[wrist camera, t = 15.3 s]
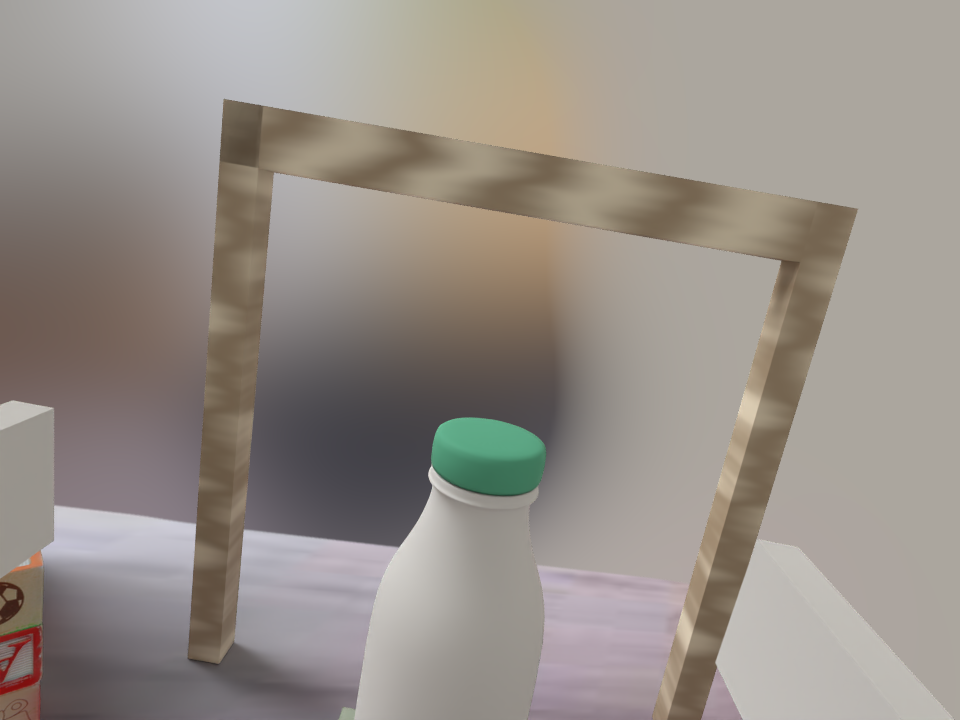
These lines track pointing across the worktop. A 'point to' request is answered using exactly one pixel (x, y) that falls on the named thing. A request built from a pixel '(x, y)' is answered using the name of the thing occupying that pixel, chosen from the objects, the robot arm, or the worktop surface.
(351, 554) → the worktop surface
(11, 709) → the stack of blocks
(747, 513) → the door frame
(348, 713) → the sage mat
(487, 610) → the milk bottle
